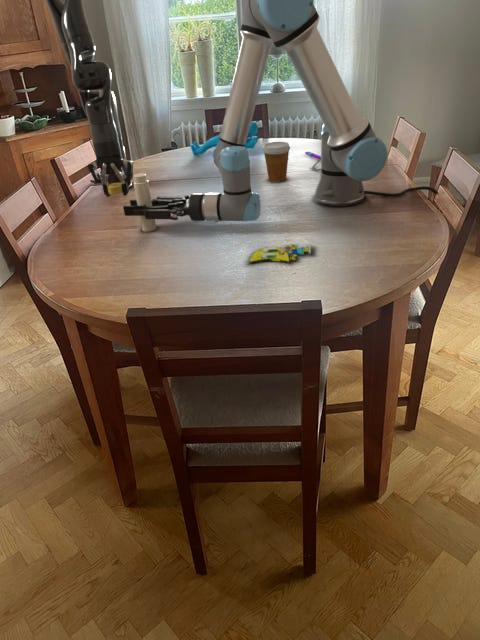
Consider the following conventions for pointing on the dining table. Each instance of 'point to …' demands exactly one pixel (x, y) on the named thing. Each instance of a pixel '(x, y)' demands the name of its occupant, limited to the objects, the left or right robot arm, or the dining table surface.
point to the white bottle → (143, 200)
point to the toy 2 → (278, 254)
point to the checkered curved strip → (315, 157)
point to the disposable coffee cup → (276, 160)
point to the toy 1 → (214, 141)
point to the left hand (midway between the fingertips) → (117, 195)
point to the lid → (115, 188)
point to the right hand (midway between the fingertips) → (128, 207)
